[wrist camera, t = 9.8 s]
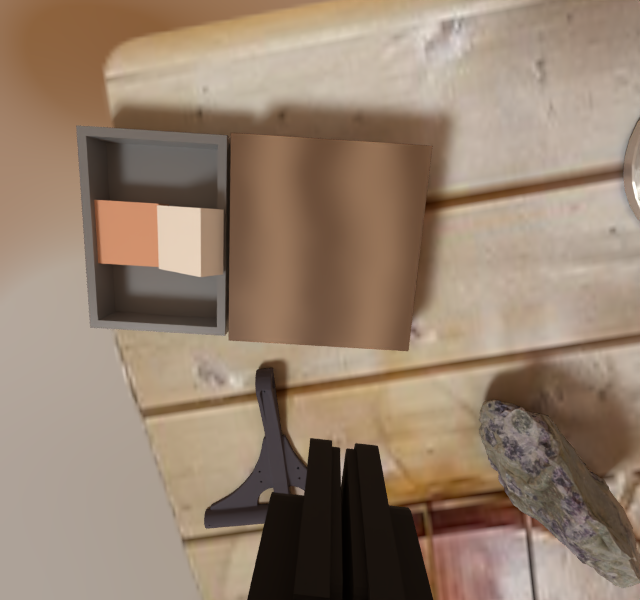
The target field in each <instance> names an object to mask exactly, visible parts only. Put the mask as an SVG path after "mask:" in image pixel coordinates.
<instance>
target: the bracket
mask: <svg viewBox="0 0 640 600" xmlns="http://www.w3.org/2000/svg"><path fill="white" fill-rule="evenodd" d="M255 385H256V395H257V399H258V403H259V407H260V412H261V417H262V421H263V426H264V431H265V437H264V439H263V444H262V449H261V454H260V457H259V460H258V462H257V464H256V466H255V468H254V471H253V472H252V473H251V475H250V476H249V477H248V478H247V480H246V481H245V482H244V483H243V484H242V485H241V486H240V487H239V488H238V489H236V490H235V491H234V492H232V493H231V494H230V495H228V496H227V497H225V498H223V499H221V500H220V501H218V502H216V503H214V504H212V505H211V507H210V508H211V509H206V512H205V518H204V524H205V528H218V527H230V526H241V525H252V524H264V523H265V519H266V515H267V510H268V506H269V504H259V505H258V503H257V501H258V497H259V496H260V494H261V493H262V492H263V491H265V490H266V489H269V488H273V489H274V492H276V493H285V494H290V491H289V486H296V487H299V488H301V489H303V490H304V491H305V484H306V474H307V467H306V466H305V465H304V464H303V463H302V462H301V461H300V459H299V458H298V457H297V456H296V454H295V453H294V451H293V450H292V448H291V446H290V444H289V442H288V440H287V438H286V436H285V435H282V432H281V425H280V417H279V410H278V403H277V395H276V388H275V381H274V373H273V368H267V369H258V370H257V371H256V380H255Z"/></svg>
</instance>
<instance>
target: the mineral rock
mask: <svg viewBox="0 0 640 600" xmlns="http://www.w3.org/2000/svg"><path fill="white" fill-rule="evenodd" d="M479 420H480V422H481V423H482V424H481V427H480V429H479V432H480V435H481V439H482V442H483V444H484V446H485V449H486V452H487V455H488V460H489V461H490V462H491V467H492V468H493V469H495V470H496V471H498V473H499V482H500V483H501V484H502V486H503V487H504V489H505V492H506V494H507V495H508V496H509V498H510V500H511V502H512V504H513V505H514V506H516V507H518V508H519V510H520V511H522V512H523V513H525V514H527V515H529V516H531V517H532V518H535V519H537V520H538V521H539V522H540V523H541V524H543V525H544V526H545V527H546V528H547V529H548V530H549V531H550V532H551V533H552V534H553V535H554V536H555V537H556V538H557V539H558V540H559V541H560V542H562V543H563V544H564V545H566V546H567V547H568V548H569V549H570V550H571V552H572V553H573V554H574V555H576V556H577V558H578V559H579V560H580V561H581V562H582V563H584V564H587V565H589V566H590V567H593V568H594V569H595V570H596V571H597V573H598V574H600V575H601V576H603V577H605V578H606V579H607V580H609V581H610V582H612V583H613V584H614V585H616V586H618V587H621V588H625V587H629V586H632V585H636V584H639V583H640V570H639V564H640V556H639V554H638V552H637V548H636V539H635V536H634V533H633V527H632V525H631V523H630V521H629V520H628V518H627V515H626V513H625V511H624V509H623V507H622V506H621V505H620V503H619V502H618V501H617V500H616V498H615V497H614V496H613V494H612V493H611V492H610V490H609V487H608V486H607V484H606V482H605V481H604V479H601V478H600V477H598V476H597V475H596V474H594V473H593V472H590V471H589V470H588V469H587V467H586V464H585V463H583V462H582V461H581V459H580V458H579V457H578V455H577V454H576V452H575V450H574V448H573V447H572V446H571V445H570V444H569V443H568V441H567V440H566V439H565V437H564V436H563V435H562V434H561V433H560V432H559V430H558V428H557V426H556V425H555V424H554V423H553V421H552V420H551V419H550V418H549V416H547V415H543V414H538V413H532V412H527V411H525V409H524V408H522V407H519V406H516V405H514V404H512V403H504V402H500V401H498V400H490V401H486V402H484V403H483V405H482V408H481V410H480V418H479Z"/></svg>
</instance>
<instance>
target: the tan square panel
mask: <svg viewBox="0 0 640 600" xmlns="http://www.w3.org/2000/svg"><path fill="white" fill-rule="evenodd" d="M431 154H432V146H427V145H411V144H396V143H381V142H365V141H350V140H335V139H319V138H304V137H289V136H273V135H258V134H243V133H231V167H230V256H229V340H232V341H248V342H265V343H282V344H298V345H315V346H331V347H348V348H365V349H381V350H398V351H408V350H409V341H410V333H411V324H412V316H413V307H414V299H415V290H416V282H417V273H418V265H419V256H420V248H421V239H422V230H423V222H424V213H425V205H426V196H427V188H428V179H429V171H430V162H431Z"/></svg>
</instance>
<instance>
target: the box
mask: <svg viewBox="0 0 640 600" xmlns="http://www.w3.org/2000/svg"><path fill="white" fill-rule="evenodd" d="M76 127H77V143H78V157H79V171H80V186H81V200H82V215H83V228H84V244H85V259H86V273H87V288H88V302H89V317H90V327H91V328H107V329H123V330H140V331H156V332H173V333H189V334H206V335H223V336H225V335H226V334H227V332H228V331H229V256H230V167H231V138H229V137H228V136H227V135H214V134H199V133H184V132H168V131H153V130H138V129H122V128H107V127H90V126H76ZM94 200H107V201H123V202H139V203H156V204H169V206H177V207H193V208H208V209H224V233H223V274H222V275H214V276H206V277H197V276H192V275H187V274H182V273H177V272H172V271H167V270H162V269H159V267H151V266H134V265H117V264H101V263H98V251H97V235H96V220H95V204H94Z"/></svg>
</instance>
